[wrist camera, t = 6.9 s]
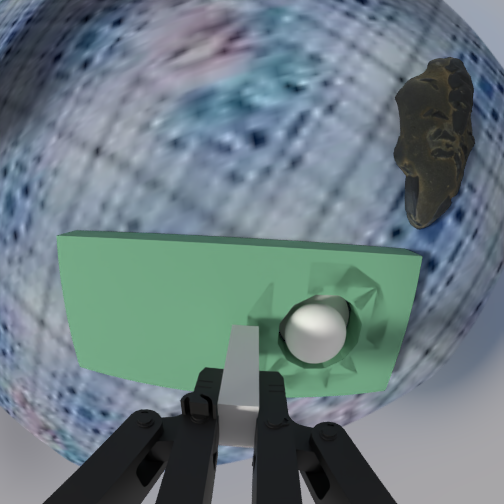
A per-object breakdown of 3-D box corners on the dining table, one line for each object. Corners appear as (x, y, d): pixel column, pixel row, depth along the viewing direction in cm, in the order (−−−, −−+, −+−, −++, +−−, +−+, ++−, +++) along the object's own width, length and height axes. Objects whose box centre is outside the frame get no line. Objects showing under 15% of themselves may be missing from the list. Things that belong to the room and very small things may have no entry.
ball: (278, 295, 17) (332, 301, 14) (312, 304, 20) (360, 309, 17) (266, 356, 16) (318, 372, 13) (302, 355, 19) (349, 367, 16)
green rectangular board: (93, 352, 20) (79, 366, 18) (75, 230, 18) (56, 235, 15) (374, 373, 20) (384, 390, 18) (404, 248, 18) (422, 256, 15)
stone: (367, 211, 18) (404, 219, 12) (393, 55, 15) (425, 27, 9) (436, 236, 18) (479, 250, 13) (456, 92, 15) (494, 77, 10)
